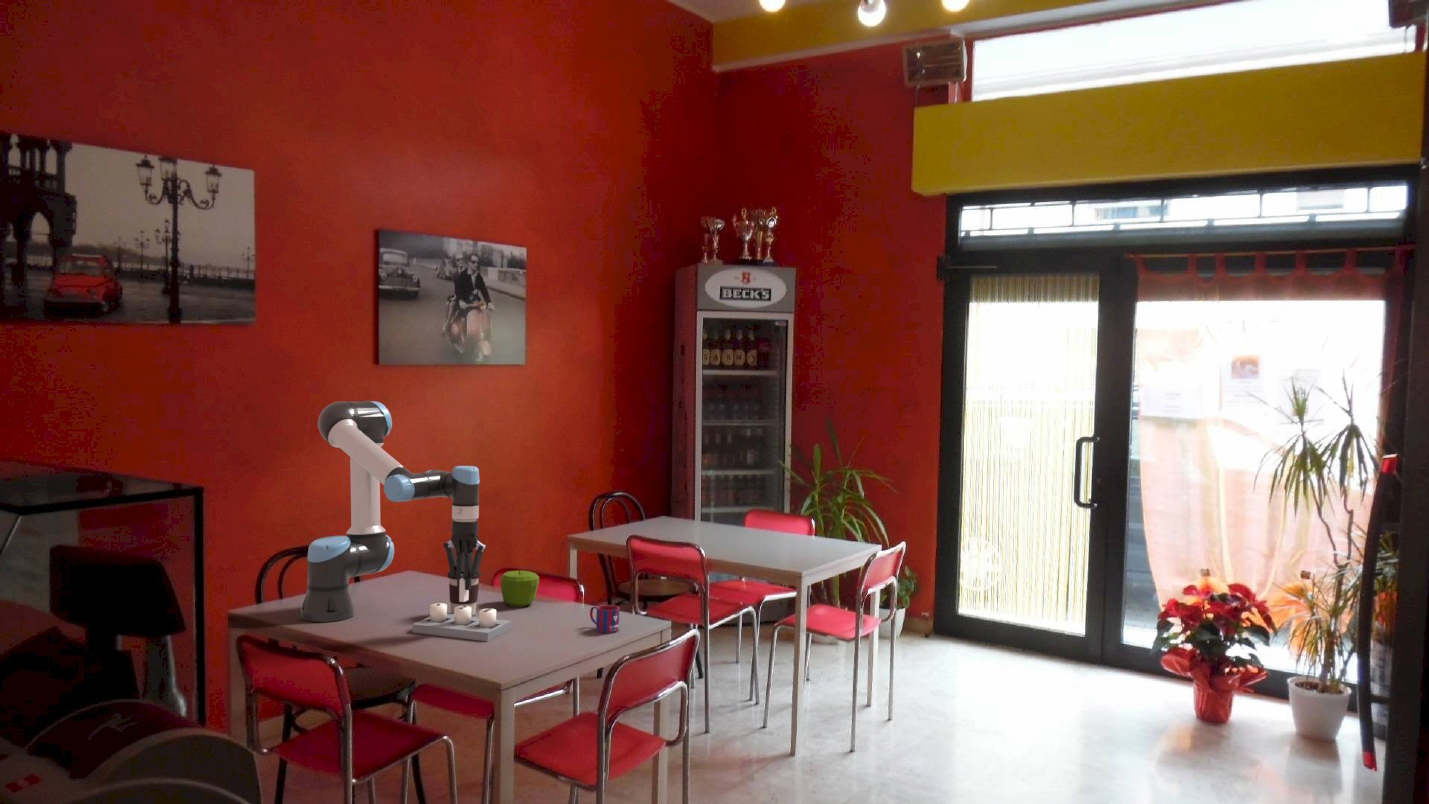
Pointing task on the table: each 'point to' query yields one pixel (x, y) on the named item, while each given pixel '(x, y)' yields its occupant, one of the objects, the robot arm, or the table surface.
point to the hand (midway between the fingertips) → (463, 600)
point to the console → (461, 628)
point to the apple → (519, 587)
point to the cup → (606, 618)
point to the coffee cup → (455, 593)
